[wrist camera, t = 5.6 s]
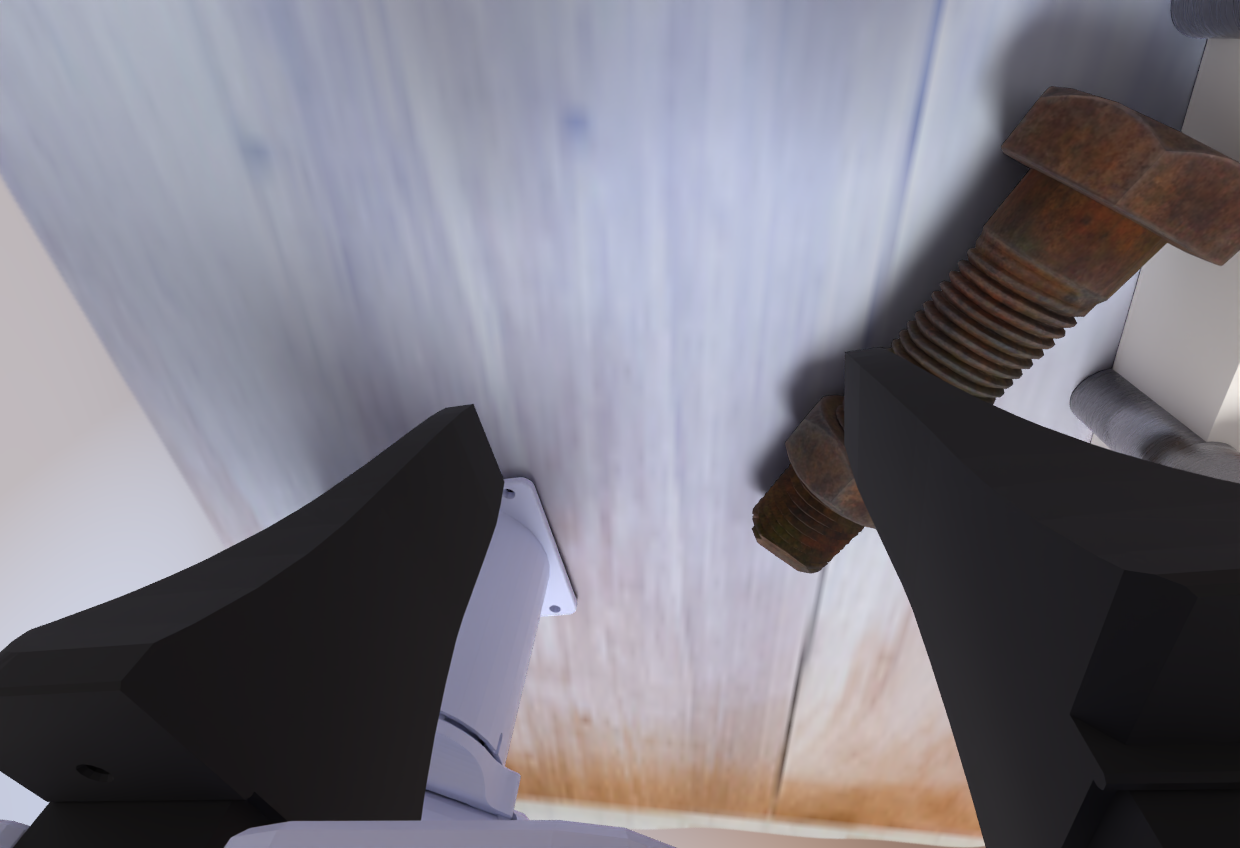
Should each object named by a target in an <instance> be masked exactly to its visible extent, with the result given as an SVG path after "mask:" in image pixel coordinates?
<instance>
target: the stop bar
mask: <svg viewBox="0 0 1240 848" xmlns="http://www.w3.org/2000/svg"><path fill="white" fill-rule="evenodd" d="M1171 13H1172V19H1173V22H1174V24H1175V26H1176V28H1177V29H1178V30H1179V31H1180V32H1181V33H1182V34H1184V35H1186V36H1188V37H1192V38H1208V41H1207V44H1206V48H1205V51H1204V55H1203V58H1202V61H1201V65H1200V68H1199V72H1198V75H1197V79H1196V82H1195V86H1194V89H1193V92H1192V96H1191V99H1190V103H1189V106H1188V110H1187V113H1186V117H1185V120H1184V123H1183V127H1182V130H1181V132H1182V133H1184V134H1186V135H1188V136H1190V137H1191V138H1193V139H1195V140H1197V141H1199V142H1201V143H1203V144H1205V145H1207V146H1209V147H1211V148H1213V149H1215V150H1217V151H1218V152H1220V153H1222V154H1224V155H1226V156H1228V157H1230V158H1232V159H1234V160H1236V161H1238V162H1240V0H1172V7H1171ZM1070 408H1071V410H1072V412H1073V413H1074V414H1075V415H1076V416H1077V417H1078V418H1079V419H1080V420H1081V421H1082V422H1083V423H1084V424H1085V425H1086V426H1087V427H1088V428H1089V429H1090V430H1091V431H1092V432H1093V437H1092V440H1091V444H1093V445H1097V446H1100V447H1103V448H1106V449H1109V450H1112V451H1115V452H1119V453H1122V454H1126V455H1130V456H1133V457H1137V458H1140V459H1144V460H1147V461H1151V462H1154V463H1158V464H1161V465H1165V466H1168V467H1172V468H1176V469H1180V470H1184V471H1188V472H1192V473H1196V474H1200V475H1204V476H1209V477H1213V478H1217V479H1221V480H1226V481H1231V482H1235V483H1240V251H1239V252H1237V253H1236V254H1235V255H1234V256H1233V257H1232V258H1231V259H1230V260H1228V261H1227V262H1226V263H1225V264H1224V265H1223V266H1218V265H1215V264H1213V263H1210V262H1208V261H1205V260H1203V259H1200V258H1198V257H1195V256H1193V255H1190V254H1188V253H1186V252H1184V251H1182V250H1180V249H1178V248H1176V247H1174V246H1172V245H1170V244H1168V243H1167V244H1166V245H1165V246H1164V247H1163V248H1162V249H1160V250H1159V251H1158V252H1157V253H1156V254H1155V255H1154V256H1153V257H1152V258H1151V259H1150V260H1149V261H1148V262H1147V263H1146V264H1145V265H1144V266H1143V267H1142V268H1141V271H1140V275H1139V278H1138V282H1137V285H1136V289H1135V292H1134V296H1133V299H1132V302H1131V306H1130V309H1129V313H1128V316H1127V320H1126V323H1125V326H1124V330H1123V333H1122V337H1121V340H1120V344H1119V347H1118V351H1117V354H1116V357H1115V361H1114V364H1113V368H1112V369H1108V370H1104V371H1101V372H1098V373H1096V374H1094V375H1092V376H1090V377H1088V378H1087V379H1086V380H1084V381H1083V382H1082V383H1081V384H1080V385H1079V386H1078V387H1077V388H1076V389H1075V391H1074V392H1073V394H1072V396H1071V400H1070Z"/></svg>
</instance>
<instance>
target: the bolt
mask: <svg viewBox="0 0 1240 848" xmlns="http://www.w3.org/2000/svg"><path fill="white" fill-rule="evenodd" d="M1001 149H1002V151H1003V153H1004V154H1006V155H1007V156H1009V157H1011V158H1013V159H1014V160H1016V161H1018V162H1020V163H1021V164H1023V165H1025V166H1027V167H1028V168H1030V170H1029V171H1028V173H1027V174H1026V175H1025V176H1024V177H1023V179H1022V180H1021V181H1020V182H1019V183H1018V185H1017V186H1016V187H1015V188H1014V190H1013V191H1012V192H1011V193H1010V194H1009V196H1008V197H1007V198H1006V199H1005V201H1004V202H1003V203H1002V204H1001V205H1000V207H999V208H998V209H997V210H996V212H995V213H994V214H993V215H992V216H991V218H990V219H989V220H988V221H987V223H986V224H985V225H984V226H983V230H982V234H981V235H980V237H979V238H978V239H977V240H976V245H975V248H970V249H969V250H968V251H967V255H968V260H969V261H967V260H960V261H959V262H958V266H959V269H960V271H950V273H949V277H950V280H951V282H949V281H943V282H941V283H940V287H941V290H942V291H934V292H933V293H932V300H933V301H932V300H928V301H926V302H925V303H924V304H923V307H924V310H920V311H917V312H916V313H915V318H916V320H911V321H909V322H908V323H907V328H908V330H901V331H900V332H899V336H900V339H894V340H893V342H892V344H891V345H892V348H886V350H888V351H890V352H892V353H894V354H896V355H898V356H900V357H901V358H903V359H905V360H907V361H909V362H911V363H912V364H914V365H916V366H918V367H920V368H921V369H923V370H925V371H927V372H929V373H930V374H932V375H934V376H936V377H938V378H940V379H942V380H943V381H945V382H947V383H949V384H951V385H953V386H955V387H957V388H959V389H961V390H963V391H965V392H967V393H969V394H971V395H973V396H975V397H977V398H979V399H981V400H983V401H985V402H987V403H989V404H992V405H993V404H994V402H995V400H996V399H995V397H1001V396H1002V395H1003V394H1004V389H1007V388H1009V387H1010V386H1012V385H1013V381H1012V379H1019V378H1020V377H1021V376H1022V375H1023V374H1022V370H1021V369H1030V368H1031V367H1032V365H1033V363H1032V360H1031V359H1040V358H1041V357H1042V356H1043V355H1044V353H1043V350H1042V349H1049V348H1052V347H1053V346H1054V345H1055V343H1054V340H1053V338H1056V339H1059V338H1062V337H1064V336H1065V330H1064V329H1063V328H1070V327H1074V326H1075V325H1076V324H1077V322H1076V320H1075V318H1074V317H1084V316H1085V315H1086V314H1087V313H1088V312H1089V311H1090V310H1092V309H1093V308H1094V307H1095V306H1096V305H1097V304H1099V303H1101V302H1104V301H1106V300H1108V299H1109V298H1110V297H1111V296H1112V295H1113V294H1114V293H1115V292H1116V291H1117V290H1118V289H1119V288H1120V287H1121V286H1122V285H1123V284H1125V283H1126V282H1127V281H1128V280H1129V279H1130V278H1131V277H1132V276H1133V275H1134V274H1135V273H1136V272H1137V271H1138V270H1139V269H1140V268H1141V267H1143V266H1144V265H1145V264H1146V263H1147V262H1148V261H1149V260H1150V259H1151V258H1152V257H1153V256H1154V255H1155V254H1156V253H1157V252H1158V251H1159V250H1160V249H1162V248H1163V247H1164V246H1165V245H1166V244H1167V243H1168V244H1170V245H1172V246H1174V247H1176V248H1178V249H1180V250H1182V251H1184V252H1186V253H1188V254H1190V255H1193V256H1195V257H1198V258H1200V259H1203V260H1205V261H1208V262H1210V263H1213V264H1215V265H1218V266H1223V265H1224V264H1225V263H1226V262H1227V261H1228V260H1230V259H1231V258H1232V257H1233V256H1234V255H1235V254H1236V253H1237V252H1239V251H1240V162H1238V161H1236V160H1234V159H1232V158H1230V157H1228V156H1226V155H1224V154H1222V153H1220V152H1218V151H1217V150H1215V149H1213V148H1211V147H1209V146H1207V145H1205V144H1203V143H1201V142H1199V141H1197V140H1195V139H1193V138H1191V137H1190V136H1188V135H1186V134H1184V133H1182V132H1180V131H1177V130H1175V129H1173V128H1171V127H1169V126H1167V125H1164V124H1162V123H1160V122H1158V121H1156V120H1154V119H1152V118H1149V117H1147V116H1145V115H1143V114H1141V113H1139V112H1136V111H1134V110H1132V109H1130V108H1128V107H1126V106H1124V105H1122V104H1120V103H1118V102H1115V101H1112V100H1108V99H1105V98H1102V97H1098V96H1095V95H1092V94H1088V93H1085V92H1082V91H1078V90H1075V89H1071V88H1062V87H1054V86H1051V87H1049V88H1048V89H1047V90H1046V91H1045V92H1044V93H1043V94H1042V95H1041V97H1040V98H1039V99H1038V100H1037V102H1036V103H1035V104H1034V105H1033V107H1032V108H1031V109H1030V110H1029V112H1028V113H1027V114H1026V115H1025V117H1024V118H1023V119H1022V121H1021V122H1020V123H1019V124H1018V126H1017V127H1016V128H1015V129H1014V131H1013V132H1012V133H1011V134H1010V136H1009V137H1008V138H1007V140H1006V141H1005V142H1004V143H1003V145H1002V146H1001ZM785 446H786V450H787V454H788V458H789V461H790V463H791V464H790V465H789V467H788V468H787V469H785V472H784V473H783V474H781V476H780V477H779V479H778V480H776V482H775V483H774V485H773V486H772V487H771V488H770V489H769V491H768V492H767V493H766V494H765V496H764V497H763V498H761V499H760V501H759V502H758V504H756V505H755V507H754V508H753V512H752V514H754V515H753V518H752V519H753V523H754V527H753V528H752V530H753V533H754V535H755V538H756V540H757V542H758V543H759V544H760V545H761V546H763V547H764V548H766V549H767V550H768V551H770V552H771V553H773V554H774V555H775V556H777V557H778V558H780V559H781V560H783V561H784V562H786V563H787V564H789V565H790V566H792V567H793V568H794V569H796V570H797V571H800V572H806V573H815V572H818V571H820V570H821V569H822V568H823V567H824V566H826V565H827V564H828V563H827V562H829V561H831V560H832V558H833V557H834V556H835V555H836V554H838V553H839V552H840V550H842V549H843V548H844V547H845V545H846V544H849V542H850V541H851V539H852V538H854V537H855V536H857V535H858V532H861V531H862V530H863V528H864V527H870V528H874V529H876V527H875V525H874V523H873V521H872V519H871V517H870V515H869V512H868V510H867V508H866V506H865V504H864V501H863V499H862V497H861V495H860V493H859V490H858V488H857V485H856V482H855V479H854V475H853V472H852V469H851V466H850V462H849V459H848V455H847V452H846V448H845V445H844V396H840V395H830V396H824V397H823V398H822V399H821V400H820V401H819V402H818V403H817V404H816V405H815V407H814V408H813V409H812V410H811V411H810V412H809V414H808V415H807V416H806V417H805V418H804V420H803V421H802V422H801V423H800V425H799V426H798V427H797V428H796V430H795V431H794V432H793V433H792V435H791V436H790V437H789V438H788V440H787V441H786V442H785Z"/></svg>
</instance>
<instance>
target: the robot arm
mask: <svg viewBox="0 0 1240 848" xmlns="http://www.w3.org/2000/svg"><path fill="white" fill-rule="evenodd" d="M844 445H845V448H846V452H847V455H848V459H849V462H850V466H851V469H852V472H853V475H854V479H855V482H856V485H857V488H858V490H859V493H860V495H861V497H862V499H863V501H864V504H865V506H866V508H867V510H868V512H869V515H870V517H871V519H872V521H873V523H874V525H875V527H876V530H877V532H878V534H879V536H880V538H881V540H882V542H883V545H884V547H885V549H886V551H887V553H888V555H889V557H890V559H891V562H892V564H893V566H894V568H895V570H896V572H897V574H898V577H899V579H900V581H901V583H902V585H903V587H904V590H905V592H906V595H907V597H908V600H909V602H910V604H911V607H912V609H913V612H914V615H915V618H916V621H917V624H918V627H919V630H920V633H921V636H922V639H923V642H924V645H925V648H926V651H927V654H928V656H929V659H930V662H931V666H932V669H933V672H934V675H935V678H936V681H937V684H938V688H939V691H940V694H941V697H942V700H943V703H944V706H945V709H946V713H947V716H948V719H949V722H950V725H951V729H952V732H953V736H954V739H955V742H956V746H957V749H958V752H959V756H960V759H961V762H962V766H963V769H964V772H965V776H966V779H967V782H968V786H969V789H970V793H971V796H972V800H973V803H974V807H975V810H976V814H977V818H978V821H979V825H980V828H981V832H982V836H983V839H984V843H985V846H986V848H1240V483H1235V482H1231V481H1226V480H1221V479H1217V478H1213V477H1209V476H1204V475H1200V474H1196V473H1192V472H1188V471H1184V470H1180V469H1176V468H1172V467H1168V466H1165V465H1161V464H1158V463H1154V462H1151V461H1147V460H1144V459H1140V458H1137V457H1133V456H1130V455H1126V454H1122V453H1119V452H1115V451H1112V450H1109V449H1106V448H1103V447H1100V446H1097V445H1093V444H1090V443H1087V442H1084V441H1082V440H1079V439H1076V438H1073V437H1071V436H1068V435H1065V434H1062V433H1060V432H1057V431H1054V430H1051V429H1048V428H1046V427H1043V426H1040V425H1038V424H1035V423H1033V422H1030V421H1028V420H1025V419H1023V418H1021V417H1018V416H1016V415H1014V414H1012V413H1009V412H1007V411H1005V410H1003V409H1000V408H998V407H996V406H994V405H992V404H989V403H987V402H985V401H983V400H981V399H979V398H977V397H975V396H973V395H971V394H969V393H967V392H965V391H963V390H961V389H959V388H957V387H955V386H953V385H951V384H949V383H947V382H945V381H943V380H942V379H940V378H938V377H936V376H934V375H932V374H930V373H929V372H927V371H925V370H923V369H921V368H920V367H918V366H916V365H914V364H912V363H911V362H909V361H907V360H905V359H903V358H901V357H900V356H898V355H896V354H894V353H892V352H890V351H888V350H886V349H884V348H882V347H877V348H870V349H863V350H856V351H849V352H845V385H844ZM506 489H511V490H512V491H514V492H513V493H512V492H508V491H506ZM556 605H557V606H556ZM576 608H577V600H576V597H575V595H574V592H573V589H572V586H571V584H570V581H569V578H568V576H567V573H566V570H565V567H564V565H563V562H562V559H561V557H560V554H559V551H558V548H557V546H556V543H555V540H554V538H553V535H552V532H551V529H550V527H549V524H548V521H547V519H546V516H545V513H544V510H543V508H542V505H541V502H540V500H539V497H538V494H537V491H536V489H535V486H534V484H533V483H532V482H531V481H530V480H529V479H526V478H522V477H518V478H509V479H503V477H502V474H501V472H500V469H499V467H498V464H497V462H496V459H495V457H494V454H493V452H492V449H491V447H490V444H489V442H488V439H487V437H486V434H485V432H484V429H483V427H482V424H481V422H480V419H479V417H478V414H477V412H476V409H475V407H474V404H470V405H463V406H456V407H449V408H445V409H443V410H441V411H439V412H437V413H436V414H434V415H433V416H431V417H430V418H428V419H427V420H425V421H424V422H422V423H421V424H420V425H418V426H417V427H415V428H414V429H413V430H411V431H410V432H409V433H407V434H406V435H405V436H403V437H402V438H401V439H399V440H398V441H397V442H395V443H394V444H392V445H391V446H390V447H388V448H387V449H386V450H384V451H383V452H382V453H380V454H379V455H378V456H376V457H375V458H374V459H372V460H371V461H370V462H368V463H367V464H366V465H364V466H363V467H361V468H360V469H358V470H357V471H356V472H354V473H353V474H351V475H350V476H348V477H347V478H346V479H344V480H343V481H341V482H340V483H338V484H337V485H335V486H334V487H333V488H331V489H330V490H328V491H327V492H325V493H324V494H322V495H321V496H319V497H318V498H316V499H315V500H313V501H312V502H310V503H308V504H307V505H305V506H304V507H302V508H300V509H299V510H297V511H295V512H294V513H292V514H290V515H289V516H287V517H285V518H284V519H282V520H280V521H278V522H277V523H275V524H273V525H272V526H270V527H268V528H266V529H264V530H263V531H261V532H259V533H257V534H255V535H253V536H251V537H249V538H247V539H245V540H243V541H241V542H239V543H237V544H236V545H234V546H232V547H230V548H228V549H226V550H224V551H222V552H220V553H218V554H216V555H214V556H212V557H210V558H208V559H206V560H204V561H202V562H200V563H198V564H196V565H193V566H191V567H189V568H187V569H184V570H182V571H180V572H178V573H176V574H174V575H171V576H169V577H167V578H164V579H162V580H160V581H157V582H155V583H152V584H150V585H148V586H145V587H143V588H141V589H138V590H136V591H133V592H131V593H128V594H126V595H124V596H121V597H119V598H116V599H113V600H111V601H108V602H105V603H103V604H100V605H97V606H95V607H92V608H89V609H86V610H84V611H81V612H78V613H76V614H73V615H70V616H67V617H65V618H62V619H59V620H57V621H54V622H51V623H48V624H46V625H43V626H40V627H37V628H34V629H31V630H29V631H27V632H26V633H24V634H23V635H21V636H20V637H18V638H17V639H15V640H14V641H12V642H11V643H10V644H9V645H8V646H7V647H6V648H5V649H3V650H2V651H1V652H0V771H1V772H2V773H4V774H5V775H7V776H8V777H10V778H12V779H13V780H15V781H16V782H18V783H19V784H21V785H22V786H24V787H25V788H27V789H28V790H30V791H31V792H33V793H35V794H36V795H37V796H39V797H41V798H42V799H44V800H45V801H47V802H50V803H49V804H48V805H47V806H46V808H45V809H44V810H43V811H42V813H41V814H40V815H39V816H38V817H37V819H36V820H35V821H34V822H33V824H32V825H31V826H28V825H25V824H22V823H18V822H15V821H8V820H0V848H676V847H673V846H670V845H668V844H665V843H663V842H660V841H658V840H655V839H652V838H650V837H647V836H645V835H642V834H639V833H637V832H634V831H632V830H629V829H626V828H622V827H613V826H605V825H596V824H588V823H579V822H571V821H562V820H529V819H528V817H527V816H526V815H525V814H524V813H521V812H519V811H516V810H514V806H515V801H516V797H517V792H518V787H519V783H520V778H521V776H520V774H519V773H517V772H514V771H512V770H510V769H508V768H506V767H505V763H506V759H507V754H508V750H509V746H510V742H511V738H512V733H513V729H514V725H515V721H516V716H517V712H518V708H519V704H520V699H521V695H522V691H523V687H524V683H525V678H526V674H527V670H528V666H529V661H530V657H531V653H532V649H533V644H534V640H535V636H536V632H537V628H538V623H539V619H540V616H554V615H568V614H572V613H574V612H575V611H576Z"/></svg>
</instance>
